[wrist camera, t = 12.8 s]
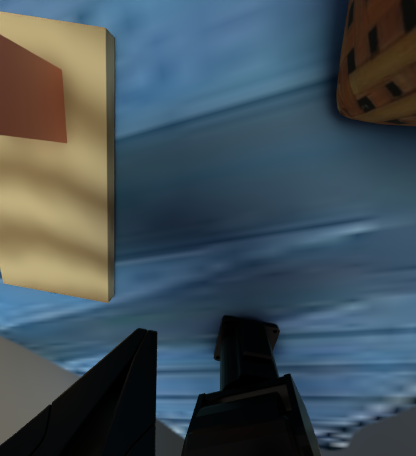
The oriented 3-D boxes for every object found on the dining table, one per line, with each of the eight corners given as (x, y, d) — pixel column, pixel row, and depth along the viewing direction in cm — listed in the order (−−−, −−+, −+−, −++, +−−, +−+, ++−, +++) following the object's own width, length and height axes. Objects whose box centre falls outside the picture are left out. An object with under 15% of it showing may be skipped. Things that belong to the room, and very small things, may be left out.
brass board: (114, 295, 23) (108, 302, 22) (14, 277, 23) (3, 283, 22) (114, 38, 15) (105, 27, 14) (-36, 14, 15) (-57, 2, 14)
